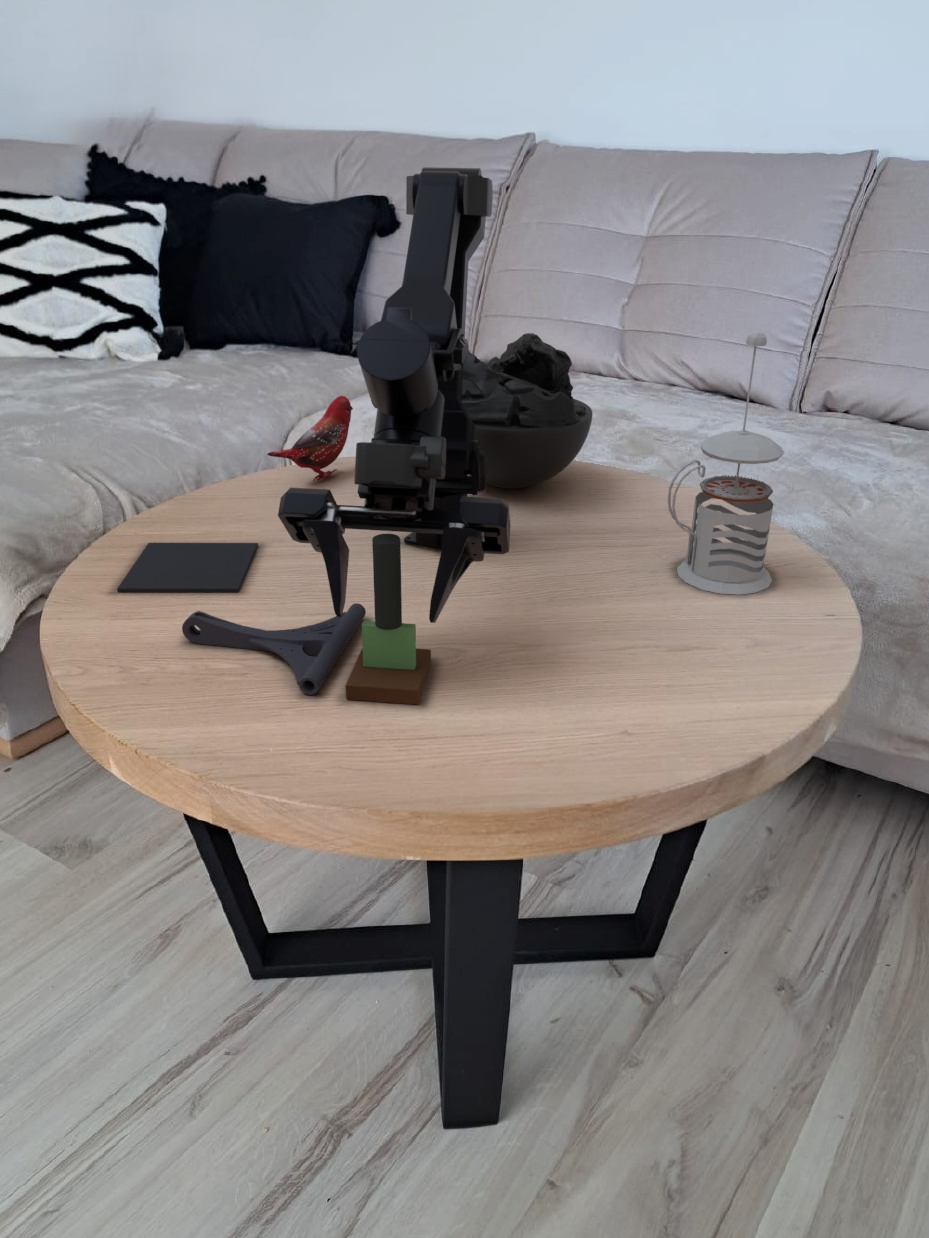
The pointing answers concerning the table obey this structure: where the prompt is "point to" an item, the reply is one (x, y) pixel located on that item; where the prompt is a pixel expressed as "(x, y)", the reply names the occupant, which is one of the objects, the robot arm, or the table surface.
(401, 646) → the rubber stamp
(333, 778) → the table surface
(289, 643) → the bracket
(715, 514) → the french press
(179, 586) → the mat
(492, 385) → the bowl of black rocks
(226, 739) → the table surface
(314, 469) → the decorative bird figurine
